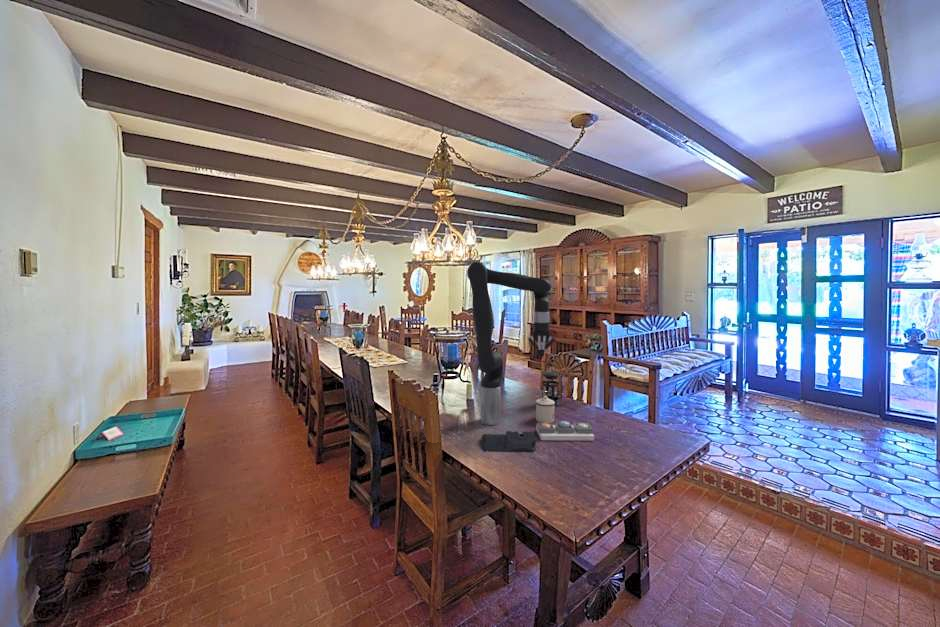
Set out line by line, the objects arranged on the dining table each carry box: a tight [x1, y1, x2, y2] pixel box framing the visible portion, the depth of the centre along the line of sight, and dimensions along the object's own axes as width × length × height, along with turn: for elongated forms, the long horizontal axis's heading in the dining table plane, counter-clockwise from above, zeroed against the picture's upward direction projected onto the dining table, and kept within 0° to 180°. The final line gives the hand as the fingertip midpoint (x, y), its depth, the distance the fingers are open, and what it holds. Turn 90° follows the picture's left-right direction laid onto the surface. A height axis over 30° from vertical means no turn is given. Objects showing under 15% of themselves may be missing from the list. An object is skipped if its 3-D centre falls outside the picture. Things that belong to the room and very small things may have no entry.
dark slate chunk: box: [481, 430, 538, 453], centre depth 152 cm, size 15×22×5 cm
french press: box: [541, 361, 563, 408], centre depth 203 cm, size 12×9×23 cm
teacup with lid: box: [535, 395, 555, 424], centre depth 180 cm, size 12×9×12 cm
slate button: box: [558, 420, 571, 428], centre depth 161 cm, size 4×4×2 cm
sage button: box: [578, 422, 588, 428], centre depth 161 cm, size 4×4×2 cm
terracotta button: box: [540, 423, 551, 428], centre depth 161 cm, size 4×4×2 cm
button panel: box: [535, 422, 595, 442], centre depth 162 cm, size 22×12×4 cm, turn 90°
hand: (540, 357), depth 179 cm, fingers closed
